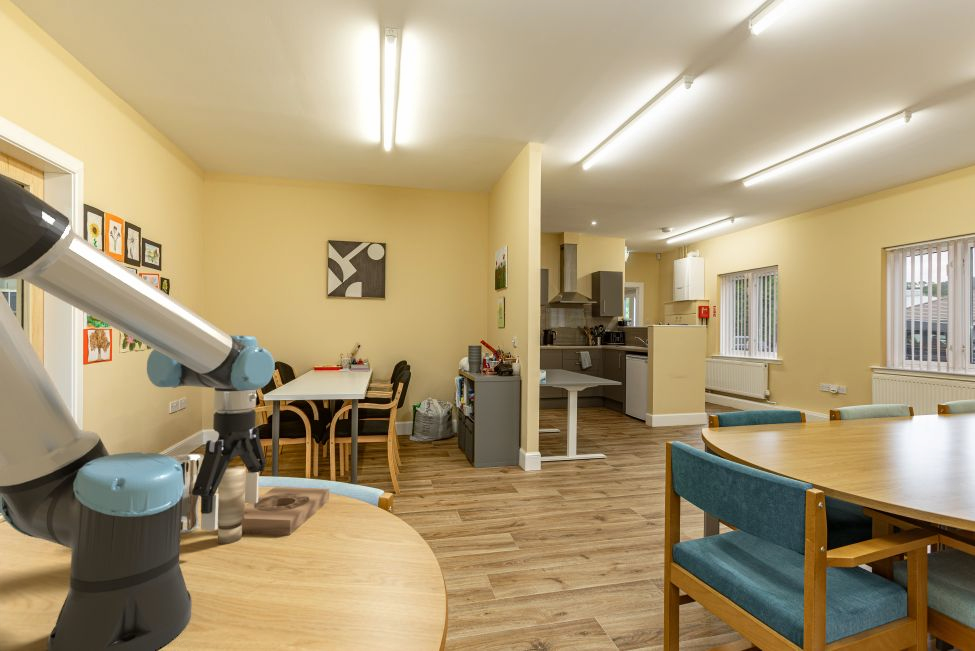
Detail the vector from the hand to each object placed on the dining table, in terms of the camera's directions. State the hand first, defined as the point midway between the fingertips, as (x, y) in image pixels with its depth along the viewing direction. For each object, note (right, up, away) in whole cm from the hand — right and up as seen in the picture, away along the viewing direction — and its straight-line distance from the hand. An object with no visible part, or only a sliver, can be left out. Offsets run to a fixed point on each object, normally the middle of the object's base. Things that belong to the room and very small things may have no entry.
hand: (231, 514), depth 90 cm
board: (+4, -5, +12) cm, 14 cm away
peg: (0, -5, 0) cm, 5 cm away
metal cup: (-13, -5, +4) cm, 15 cm away
